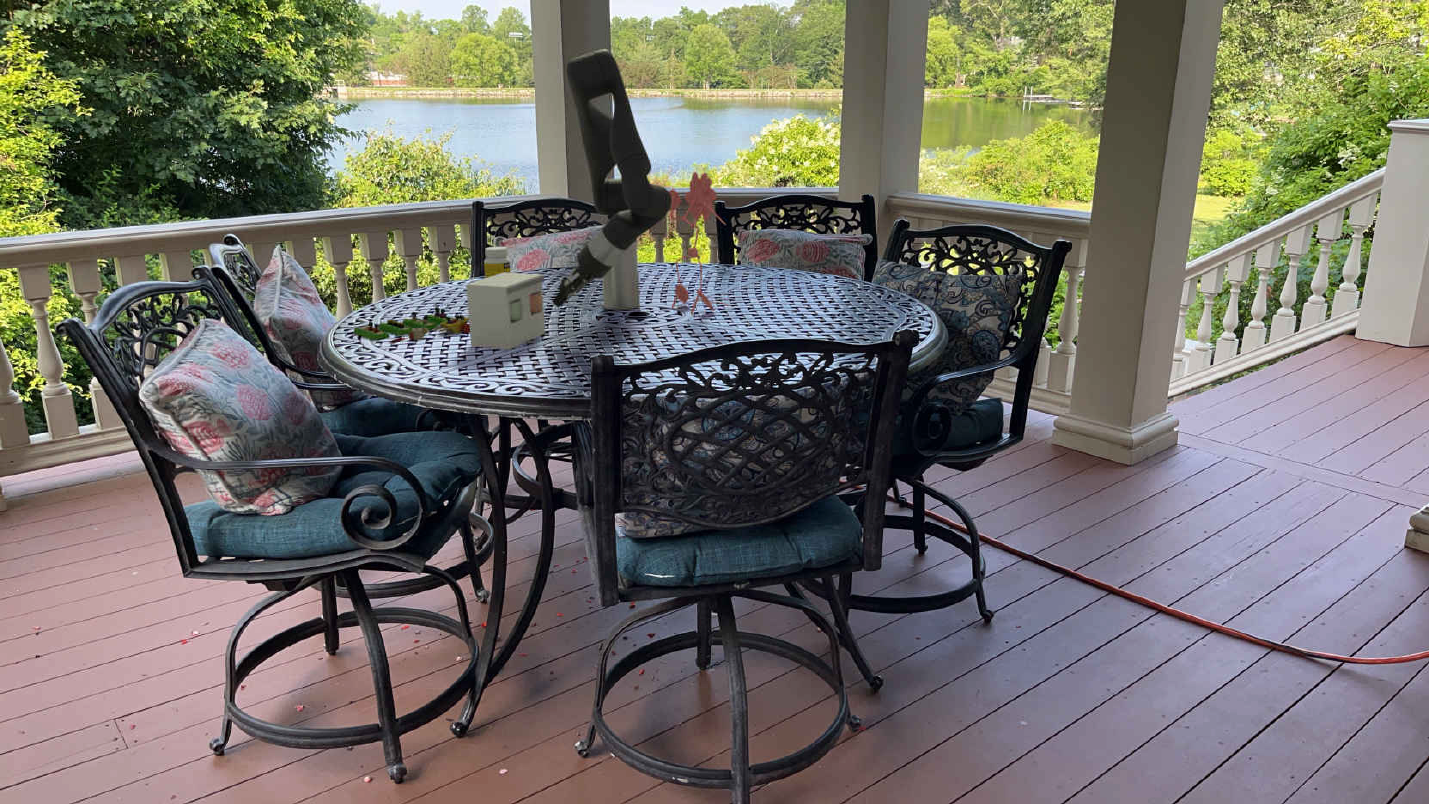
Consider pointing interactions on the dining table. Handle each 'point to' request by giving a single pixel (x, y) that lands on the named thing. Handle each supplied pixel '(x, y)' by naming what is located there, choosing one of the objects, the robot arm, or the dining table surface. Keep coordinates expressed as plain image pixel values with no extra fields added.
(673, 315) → the dining table surface
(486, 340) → the console
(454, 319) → the toy garden set
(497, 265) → the supplement bottle
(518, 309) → the green button
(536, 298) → the terracotta button
